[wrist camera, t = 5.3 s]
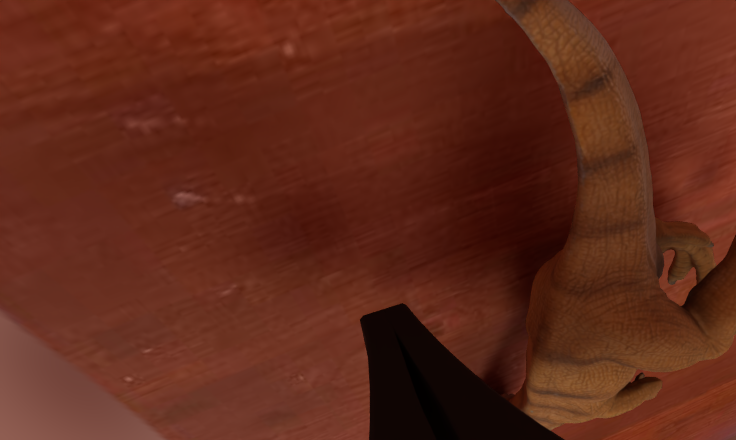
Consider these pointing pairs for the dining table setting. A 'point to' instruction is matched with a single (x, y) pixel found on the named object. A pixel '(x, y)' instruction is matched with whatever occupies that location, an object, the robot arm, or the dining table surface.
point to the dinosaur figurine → (611, 250)
